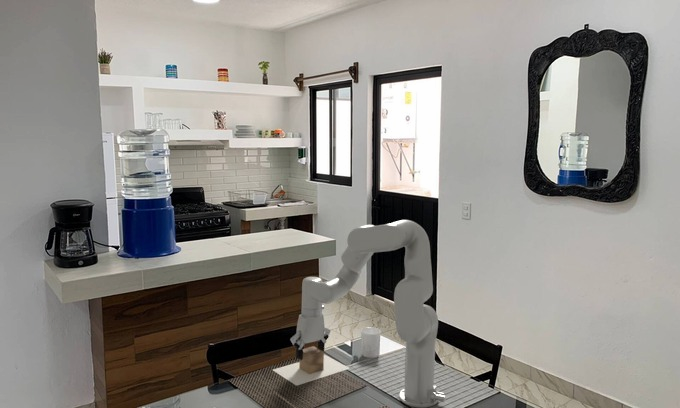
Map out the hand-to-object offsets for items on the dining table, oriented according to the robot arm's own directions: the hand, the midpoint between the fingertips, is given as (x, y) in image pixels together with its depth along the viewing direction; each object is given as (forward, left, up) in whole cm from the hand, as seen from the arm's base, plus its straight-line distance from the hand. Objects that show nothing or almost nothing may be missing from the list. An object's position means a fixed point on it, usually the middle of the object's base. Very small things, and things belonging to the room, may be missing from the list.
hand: (310, 355), depth 194 cm
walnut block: (-1, 0, -5) cm, 5 cm away
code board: (-1, 0, -6) cm, 6 cm away
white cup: (-13, -25, -6) cm, 29 cm away
